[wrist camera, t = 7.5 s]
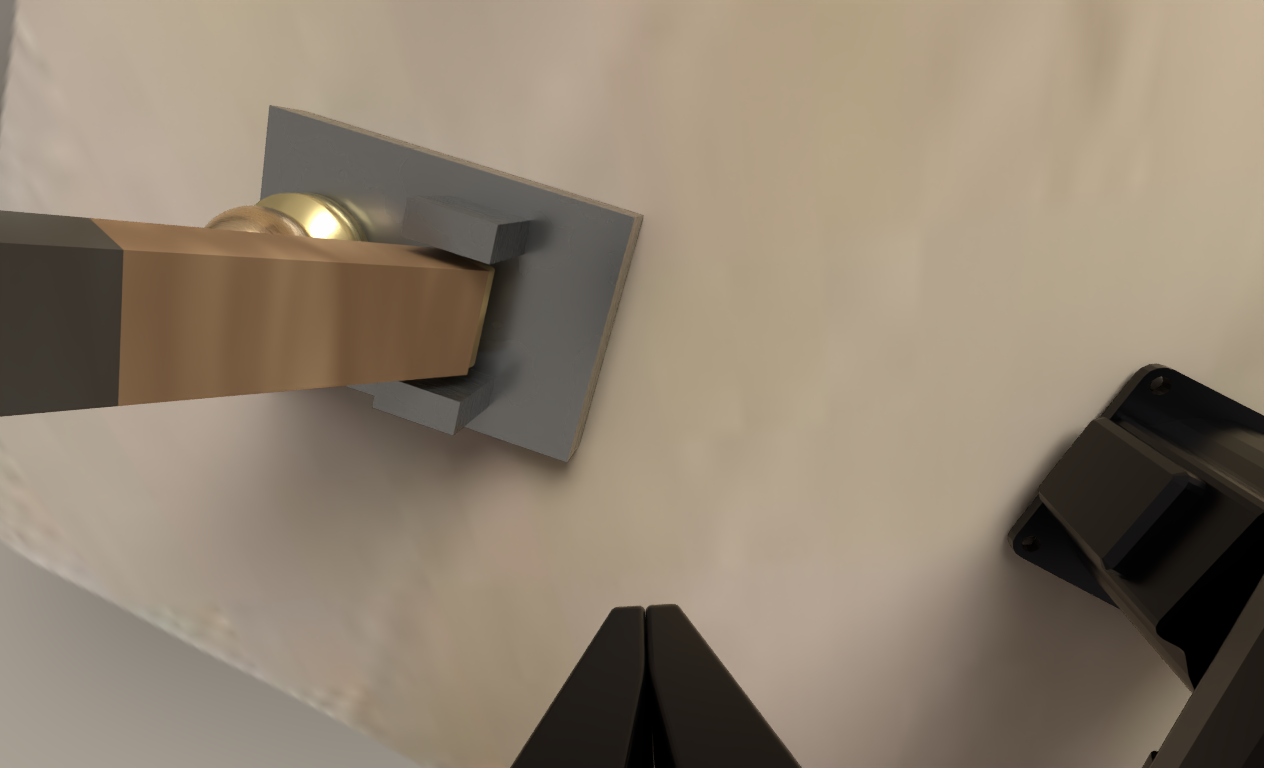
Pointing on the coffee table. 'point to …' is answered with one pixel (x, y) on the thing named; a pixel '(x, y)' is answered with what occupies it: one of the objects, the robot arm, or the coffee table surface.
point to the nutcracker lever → (220, 312)
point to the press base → (478, 229)
